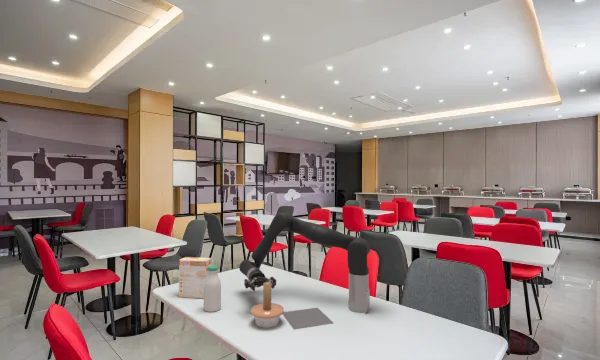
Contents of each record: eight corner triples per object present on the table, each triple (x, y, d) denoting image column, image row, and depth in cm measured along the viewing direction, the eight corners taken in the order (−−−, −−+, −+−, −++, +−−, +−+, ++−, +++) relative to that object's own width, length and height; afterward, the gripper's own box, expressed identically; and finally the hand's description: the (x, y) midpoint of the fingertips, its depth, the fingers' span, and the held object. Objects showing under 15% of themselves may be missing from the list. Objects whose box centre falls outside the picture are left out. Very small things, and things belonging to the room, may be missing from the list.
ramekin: (278, 330, 130) (279, 317, 130) (251, 329, 131) (251, 316, 131) (281, 318, 141) (281, 306, 141) (256, 318, 142) (256, 306, 142)
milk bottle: (224, 309, 151) (224, 266, 151) (209, 313, 145) (210, 269, 146) (215, 304, 156) (215, 263, 156) (200, 309, 151) (201, 266, 151)
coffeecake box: (211, 294, 170) (211, 257, 171) (205, 299, 163) (205, 260, 164) (185, 292, 173) (185, 256, 173) (178, 297, 166) (178, 259, 166)
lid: (289, 308, 139) (289, 280, 139) (273, 320, 127) (273, 290, 127) (262, 303, 145) (262, 276, 146) (243, 314, 133) (244, 285, 133)
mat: (317, 308, 153) (317, 307, 153) (334, 324, 136) (334, 323, 136) (281, 313, 147) (281, 312, 147) (293, 330, 130) (293, 329, 130)
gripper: (241, 270, 154) (247, 280, 139) (270, 268, 159) (279, 277, 144) (241, 286, 154) (247, 297, 139) (269, 283, 159) (279, 294, 144)
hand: (263, 287), depth 142 cm, fingers open, 8 cm apart
